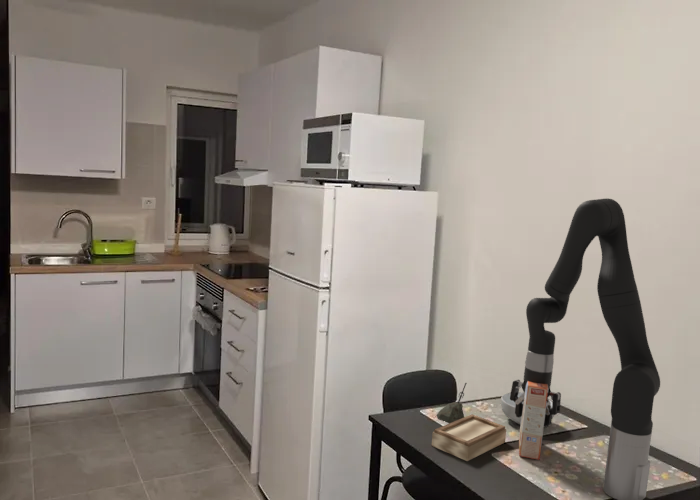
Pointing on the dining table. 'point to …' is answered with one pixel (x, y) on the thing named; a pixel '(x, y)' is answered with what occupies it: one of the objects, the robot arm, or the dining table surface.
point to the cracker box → (532, 420)
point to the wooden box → (469, 437)
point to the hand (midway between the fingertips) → (532, 421)
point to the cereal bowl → (512, 407)
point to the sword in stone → (452, 411)
